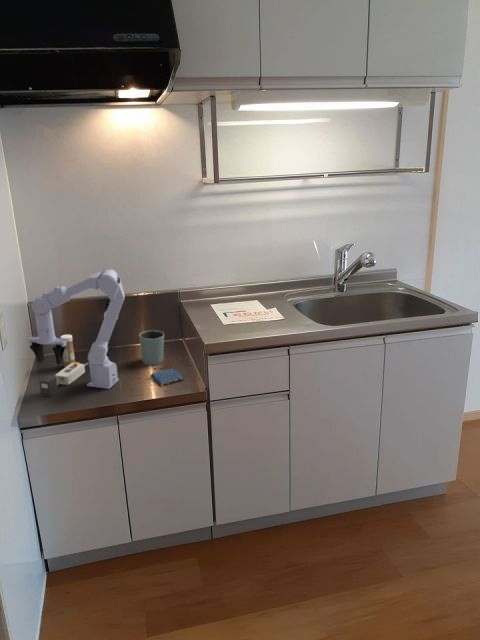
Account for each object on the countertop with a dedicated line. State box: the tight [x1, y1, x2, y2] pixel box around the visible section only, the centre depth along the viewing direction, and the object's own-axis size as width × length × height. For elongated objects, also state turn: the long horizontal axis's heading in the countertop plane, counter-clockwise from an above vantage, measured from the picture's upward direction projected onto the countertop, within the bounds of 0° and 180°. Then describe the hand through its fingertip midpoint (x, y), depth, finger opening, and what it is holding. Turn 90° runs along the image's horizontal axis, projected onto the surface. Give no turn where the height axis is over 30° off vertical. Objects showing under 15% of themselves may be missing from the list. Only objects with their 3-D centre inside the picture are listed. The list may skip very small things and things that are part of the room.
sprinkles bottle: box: [59, 334, 76, 368], centre depth 209 cm, size 5×5×14 cm
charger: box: [38, 375, 59, 397], centre depth 189 cm, size 4×6×6 cm, turn 165°
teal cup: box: [138, 329, 165, 366], centre depth 214 cm, size 10×10×12 cm
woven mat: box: [150, 368, 186, 387], centre depth 200 cm, size 10×11×2 cm
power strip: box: [54, 361, 89, 386], centre depth 204 cm, size 6×19×4 cm, turn 165°
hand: (50, 362), depth 192 cm, fingers open, 7 cm apart
